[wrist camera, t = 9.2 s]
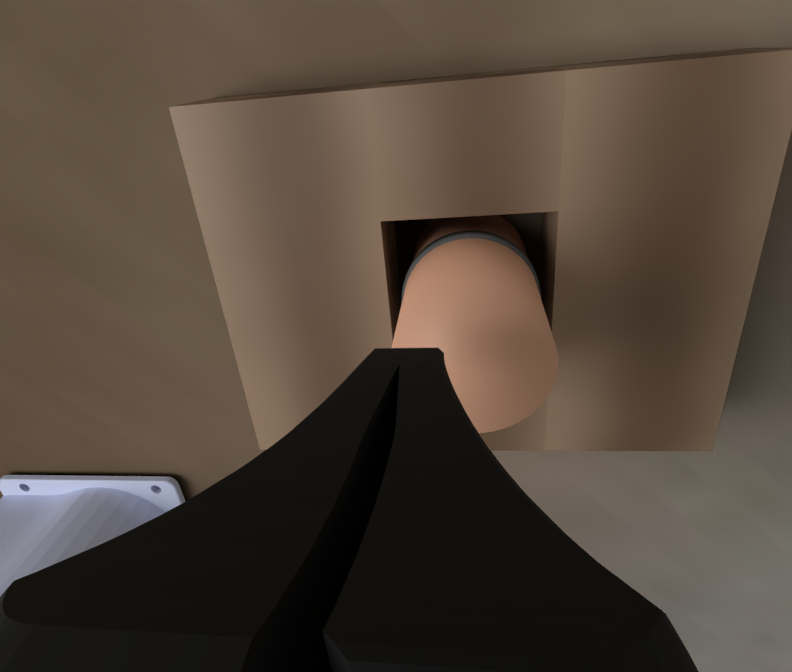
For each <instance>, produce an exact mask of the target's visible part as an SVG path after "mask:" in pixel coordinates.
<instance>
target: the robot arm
mask: <svg viewBox="0 0 792 672" xmlns="http://www.w3.org/2000/svg"><path fill="white" fill-rule="evenodd" d="M0 491H1V492H2V494H3V497H2V498H1V499H0V672H698V670H697V668H696V666H695V664H694V663H693V661H692V659H691V657H690V655H689V653H688V651H687V650H686V648H685V646H684V644H683V643H682V641H681V639H680V637H679V636H678V634H677V632H676V630H675V629H674V627H673V625H672V624H671V622H670V620H669V619H668V617H667V615H666V614H665V613H664V612H663V611H662V610H660V609H659V608H658V607H656V606H655V605H654V604H652V603H651V602H650V601H648V600H647V599H646V598H644V597H643V596H642V595H640V594H639V593H638V592H636V591H635V590H634V589H632V588H631V587H630V586H628V585H627V584H626V583H625V582H623V581H622V580H621V579H619V578H618V577H617V576H615V575H614V574H613V573H611V572H610V571H609V570H607V569H606V568H605V567H603V566H602V565H601V564H599V563H598V562H597V561H596V560H595V559H593V558H592V557H591V556H590V555H589V554H588V553H587V552H586V551H584V550H583V549H582V548H581V547H580V546H579V545H578V544H576V543H575V542H574V541H573V540H572V539H571V538H570V537H568V536H567V535H566V534H565V533H564V532H563V531H562V530H561V529H560V528H559V527H558V526H557V525H556V524H555V523H554V522H553V521H552V520H551V519H550V518H549V517H548V516H547V515H546V514H545V513H544V512H543V511H542V510H541V509H540V508H539V507H538V506H537V505H536V504H535V503H534V502H533V501H532V500H531V499H530V498H529V497H528V496H527V495H526V494H525V492H524V491H523V490H522V489H521V488H520V487H519V486H518V484H517V483H516V482H515V481H514V480H513V479H512V477H511V476H510V475H509V474H508V473H507V471H506V470H505V469H504V468H503V466H502V465H501V464H500V463H499V461H498V460H497V459H496V457H495V456H494V455H493V453H492V452H491V451H490V449H489V448H488V446H487V445H486V444H485V442H484V441H483V439H482V438H481V436H480V435H479V433H478V431H477V430H476V428H475V427H474V425H473V423H472V422H471V420H470V418H469V417H468V415H467V413H466V411H465V410H464V408H463V406H462V404H461V402H460V400H459V398H458V396H457V394H456V392H455V390H454V388H453V385H452V383H451V380H450V378H449V375H448V373H447V369H446V366H445V362H444V353H443V352H442V351H441V350H440V349H439V348H375V349H374V350H373V351H372V352H371V353H370V354H369V355H368V356H367V357H366V358H365V359H364V360H363V361H362V362H361V363H360V364H359V365H358V366H357V368H356V369H355V370H354V371H353V372H352V373H351V374H350V375H349V376H348V377H347V378H346V379H345V380H344V381H343V382H342V383H341V384H340V385H339V386H338V387H337V388H336V389H335V391H333V393H332V394H331V395H330V396H329V397H328V398H327V399H326V400H325V401H324V402H323V403H322V404H320V405H319V406H318V407H317V408H316V409H315V410H314V411H313V412H312V413H310V414H309V415H308V416H307V417H306V418H305V419H304V420H303V421H301V422H300V423H299V424H298V425H297V426H296V427H295V428H294V429H293V430H291V431H290V432H289V433H288V434H286V435H285V436H284V437H283V438H281V439H280V440H279V441H278V442H276V443H275V444H274V445H272V446H271V447H270V448H268V449H267V450H265V451H264V452H263V453H261V454H260V455H259V456H257V457H256V458H254V459H253V460H252V461H250V462H249V463H247V464H246V465H244V466H243V467H241V468H240V469H238V470H237V471H235V472H234V473H232V474H230V475H229V476H227V477H225V478H224V479H222V480H220V481H219V482H217V483H216V484H214V485H212V486H211V487H209V488H207V489H206V490H204V491H203V492H201V493H199V494H198V495H196V496H194V497H193V498H191V499H189V500H188V501H186V502H185V499H184V496H183V494H182V491H181V488H180V485H179V483H178V482H177V481H176V480H175V479H174V478H172V477H167V476H73V475H4V476H3V477H2V478H1V479H0Z"/></svg>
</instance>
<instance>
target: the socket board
mask: <svg viewBox="0 0 792 672" xmlns="http://www.w3.org/2000/svg"><path fill="white" fill-rule="evenodd" d="M169 110H170V114H171V117H172V121H173V125H174V129H175V132H176V136H177V140H178V144H179V147H180V151H181V155H182V159H183V162H184V166H185V170H186V174H187V177H188V181H189V185H190V189H191V192H192V196H193V200H194V204H195V207H196V211H197V215H198V219H199V222H200V226H201V230H202V234H203V237H204V241H205V245H206V249H207V252H208V256H209V260H210V264H211V267H212V271H213V275H214V279H215V282H216V286H217V290H218V294H219V297H220V301H221V305H222V309H223V312H224V316H225V320H226V324H227V327H228V331H229V335H230V339H231V342H232V346H233V350H234V354H235V357H236V361H237V365H238V369H239V372H240V376H241V380H242V384H243V387H244V391H245V395H246V399H247V402H248V406H249V410H250V414H251V417H252V421H253V425H254V429H255V432H256V436H257V440H258V444H259V447H260V450H267V449H268V448H270V447H271V446H272V445H274V444H275V443H276V442H278V441H279V440H280V439H281V438H283V437H284V436H285V435H286V434H288V433H289V432H290V431H291V430H293V429H294V428H295V427H296V426H297V425H298V424H299V423H300V422H301V421H303V420H304V419H305V418H306V417H307V416H308V415H309V414H310V413H312V412H313V411H314V410H315V409H316V408H317V407H318V406H319V405H320V404H322V403H323V402H324V401H325V400H326V399H327V398H328V397H329V396H330V395H331V394H332V393H333V391H335V389H336V388H337V387H338V386H339V385H340V384H341V383H342V382H343V381H344V380H345V379H346V378H347V377H348V376H349V375H350V374H351V373H352V372H353V371H354V370H355V369H356V368H357V366H358V365H359V364H360V363H361V362H362V361H363V360H364V359H365V358H366V357H367V356H368V355H369V354H370V353H371V352H372V351H373V350H374V349H375V348H392V343H393V339H394V335H395V330H396V326H397V322H398V318H399V313H400V309H401V305H402V298H401V287H400V276H399V265H398V254H397V243H396V232H395V221H397V220H415V219H432V218H450V217H467V216H485V215H503V214H520V213H538V212H543V216H542V240H541V263H540V292H541V300H542V303H543V307H544V310H545V313H546V316H547V319H548V322H549V325H550V329H551V332H552V335H553V338H554V341H555V344H556V347H557V354H558V370H557V376H556V379H555V383H554V386H553V388H552V390H551V392H550V394H549V395H548V397H547V398H546V399H545V401H544V402H543V403H542V404H541V406H540V407H539V408H538V409H537V410H536V411H534V412H533V413H532V414H531V415H530V416H528V417H527V418H525V419H524V420H522V421H520V422H518V423H516V424H514V425H512V426H510V427H507V428H504V429H501V430H497V431H493V432H486V433H479V435H480V436H481V438H482V439H483V441H484V442H485V444H486V445H487V446H488V448H489V449H490V450H579V451H713V447H714V443H715V439H716V435H717V431H718V427H719V423H720V419H721V415H722V411H723V407H724V403H725V398H726V394H727V390H728V386H729V382H730V378H731V374H732V370H733V366H734V362H735V358H736V354H737V350H738V346H739V342H740V338H741V334H742V329H743V325H744V321H745V317H746V313H747V309H748V305H749V301H750V297H751V293H752V289H753V285H754V281H755V277H756V273H757V269H758V265H759V260H760V256H761V252H762V248H763V244H764V240H765V236H766V232H767V228H768V224H769V220H770V216H771V212H772V208H773V204H774V200H775V196H776V191H777V187H778V183H779V179H780V175H781V171H782V167H783V163H784V159H785V155H786V151H787V147H788V143H789V139H790V135H791V131H792V48H746V49H735V50H724V51H713V52H703V53H692V54H681V55H670V56H660V57H649V58H638V59H627V60H617V61H606V62H595V63H584V64H574V65H563V66H552V67H542V68H531V69H520V70H509V71H499V72H488V73H477V74H466V75H456V76H445V77H434V78H423V79H413V80H402V81H391V82H380V83H370V84H359V85H348V86H337V87H327V88H316V89H305V90H295V91H284V92H273V93H262V94H252V95H241V96H230V97H219V98H211V99H206V100H201V101H196V102H191V103H186V104H181V105H176V106H171V107H169Z"/></svg>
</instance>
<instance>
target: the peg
mask: <svg viewBox="0 0 792 672" xmlns="http://www.w3.org/2000/svg"><path fill="white" fill-rule="evenodd" d="M392 348H439V349H440V350H441V351H442V352H443V353H444V362H445V366H446V369H447V373H448V375H449V378H450V380H451V383H452V385H453V388H454V390H455V392H456V394H457V396H458V398H459V400H460V402H461V404H462V406H463V408H464V410H465V411H466V413H467V415H468V417H469V418H470V420H471V422H472V423H473V425H474V427H475V428H476V430H477V431H478V433H486V432H493V431H497V430H501V429H504V428H507V427H510V426H512V425H514V424H516V423H518V422H520V421H522V420H524V419H525V418H527V417H528V416H530V415H531V414H532V413H533V412H534V411H536V410H537V409H538V408H539V407H540V406H541V404H542V403H543V402H544V401H545V399H546V398H547V397H548V395H549V394H550V392H551V390H552V388H553V386H554V383H555V379H556V376H557V370H558V354H557V347H556V344H555V341H554V338H553V335H552V332H551V329H550V325H549V322H548V319H547V316H546V313H545V310H544V307H543V303H542V300H541V292H540V286H539V282H538V278H537V275H536V272H535V269H534V267H533V265H532V263H531V261H530V260H529V258H528V256H527V253H526V250H525V247H524V244H523V241H522V239H521V237H520V235H519V233H518V232H517V230H516V229H515V228H514V227H513V226H512V224H511V223H509V222H508V221H507V220H506V219H505V218H503V217H501V216H500V215H485V216H467V217H450V218H437V219H435V220H434V221H433V222H432V223H430V224H429V225H428V226H427V227H426V229H425V230H424V231H423V232H422V234H421V236H420V237H419V239H418V241H417V243H416V246H415V250H414V253H413V258H412V262H411V265H410V267H409V269H408V271H407V274H406V277H405V281H404V285H403V290H402V305H401V309H400V313H399V318H398V322H397V326H396V330H395V335H394V339H393V343H392Z"/></svg>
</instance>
